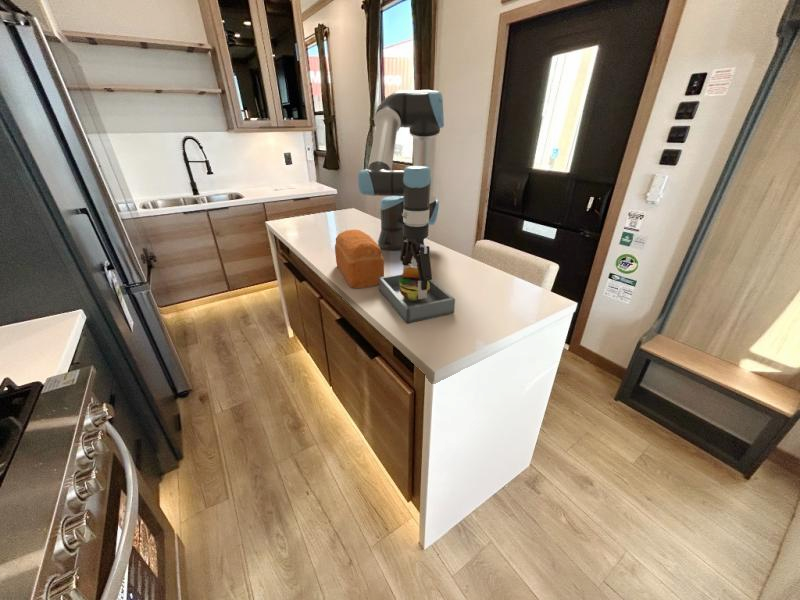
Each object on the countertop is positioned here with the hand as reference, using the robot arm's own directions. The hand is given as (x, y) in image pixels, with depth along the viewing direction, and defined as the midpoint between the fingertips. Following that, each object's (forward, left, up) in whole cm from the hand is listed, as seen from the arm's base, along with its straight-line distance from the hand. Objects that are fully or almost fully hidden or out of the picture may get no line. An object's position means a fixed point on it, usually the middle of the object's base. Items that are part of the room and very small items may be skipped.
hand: (414, 290), depth 104 cm
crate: (0, 0, -4) cm, 4 cm away
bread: (-29, -10, -4) cm, 31 cm away
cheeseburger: (0, 0, -1) cm, 1 cm away
